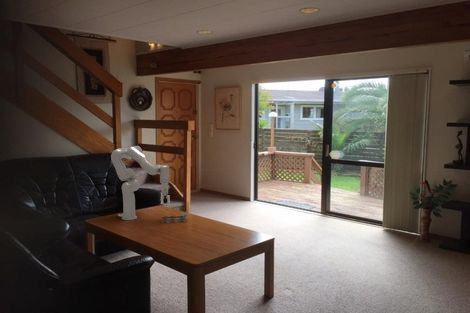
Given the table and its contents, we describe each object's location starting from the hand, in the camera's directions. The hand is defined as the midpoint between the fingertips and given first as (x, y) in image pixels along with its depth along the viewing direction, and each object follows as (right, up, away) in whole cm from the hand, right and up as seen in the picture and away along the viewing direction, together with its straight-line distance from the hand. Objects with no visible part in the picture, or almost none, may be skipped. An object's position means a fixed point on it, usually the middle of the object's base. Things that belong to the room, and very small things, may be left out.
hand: (165, 202), depth 318 cm
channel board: (+7, -16, +3) cm, 17 cm away
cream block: (0, -1, 0) cm, 1 cm away
